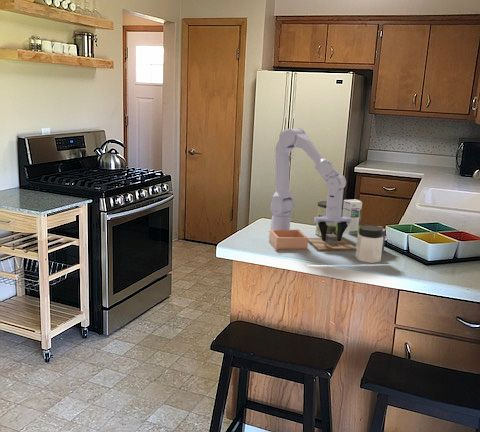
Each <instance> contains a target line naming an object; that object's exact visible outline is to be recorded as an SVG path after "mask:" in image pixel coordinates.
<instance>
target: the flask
mask: <svg viewBox="0 0 480 432" xmlns="http://www.w3.org/2000/svg"><path fill="white" fill-rule="evenodd" d="M377 227H380V228H382V229H383V235H382V237H383V245H382V253H383V252H384V251H385V243H386V242H385V241H386V233H387V229H385V228H383V227H384V226H380V225H377Z"/></svg>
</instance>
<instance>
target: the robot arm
mask: <svg viewBox="0 0 480 432" xmlns="http://www.w3.org/2000/svg"><path fill="white" fill-rule="evenodd" d="M278 136H279V138H278V141H277V143H276V146H275V148H274V149H275V192H274V194H273V195H272V197H271V202H270V203H271V204H270V206H269V208H270V211H271V213H272V216H271V219H270V220H271V221H270V230H291V217H292V215H291V214H292V211H293V210H294V209H295V202H294V200H293V194H292V193H291V191H290V153H291V152H292V150H294V149H295V148H298V149H302V150H303V151H304V152H305V153H306V155H307V156H308V157H309V158H310V159H311V160H312V161H313V162H314V164H315V166H314V167H315V170H316V171H317V173H318V174H319V175H320V176H321V178H322V179H323V180H324V181H325V186H326V187H325V188H326V189H327V197H326V201H327V207H326V216H323V217H317V216H314V217H313V222H314V223H315V224H316V223H318V225H319V228H320V231H321V236H322V237H321V238H322V241H325V240H326V231H327V227H328V226H327V225H326V223H337V241H340V240H341V238H343V235H344V233H345V232H344V231H345V229H346V228H347V226H348V224H347V223H352V218H350V217H343V216H342V217H341V209H342V210H343V207H342V204H343V196H344V195H343V194H344V188H346V186H347V180H346V179H347V178H346V177H345V175H343V174H340V172H339V171H338V170H337V169H336V168H335V167H334V165H333V162H332V161H331V160H329V159H327V158H323V157H322V155H321V154H320V153H319V150H317V148H316V146H315V145H314V144H313V142H312V141H311V139H310V136H309V135H308V133H306V132H305V130H304V129H303V128H299V127H298V128H286V129H284V130H283V131H282V132H280V134H279V135H278Z"/></svg>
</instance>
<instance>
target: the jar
mask: <svg viewBox="0 0 480 432" xmlns="http://www.w3.org/2000/svg"><path fill="white" fill-rule="evenodd" d="M383 229H384V228H382V227H381V228H380V227H378V225H376V226H375V225H371V224H369V225H367V224H365V225H360V229H359V233H357V239H356V240H357V241H356V247H355V248H356V251H355V258H356V259H357V260H358V261H361V262H366V263H370V264H374V263H377V262H381V261H382V253H383V252H382V245H383V237H382V235H383Z"/></svg>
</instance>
